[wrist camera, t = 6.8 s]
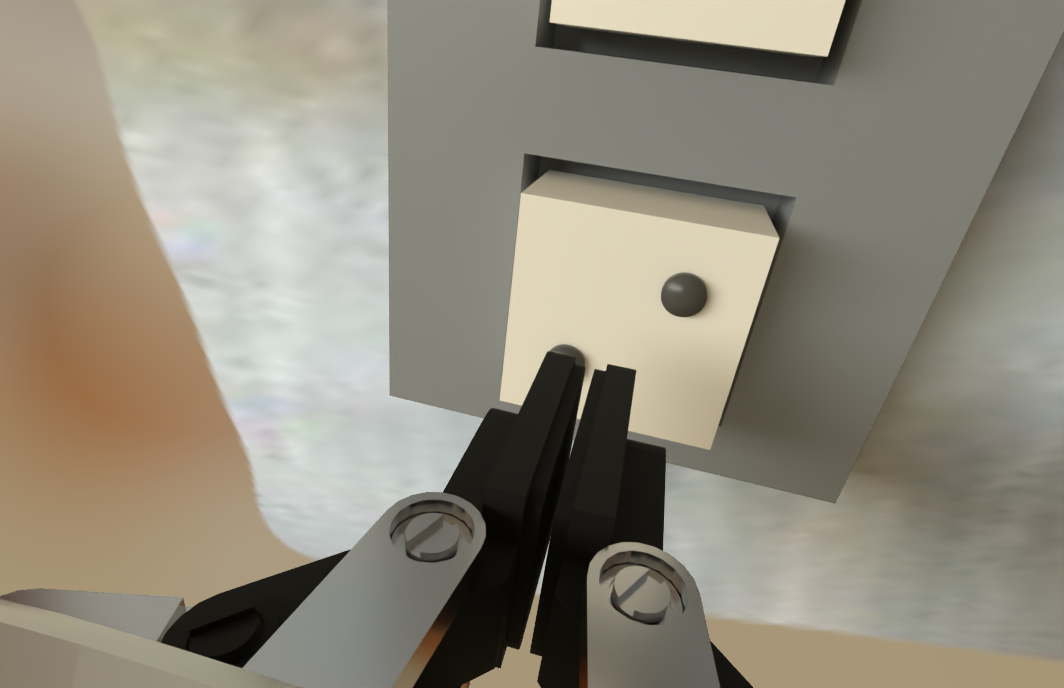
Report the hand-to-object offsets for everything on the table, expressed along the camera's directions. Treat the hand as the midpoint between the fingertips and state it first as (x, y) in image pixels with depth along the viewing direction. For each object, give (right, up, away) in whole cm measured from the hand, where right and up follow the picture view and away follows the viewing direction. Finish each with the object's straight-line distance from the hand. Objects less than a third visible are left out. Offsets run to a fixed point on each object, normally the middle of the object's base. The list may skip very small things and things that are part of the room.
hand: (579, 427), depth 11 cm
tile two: (+2, +3, +5) cm, 7 cm away
